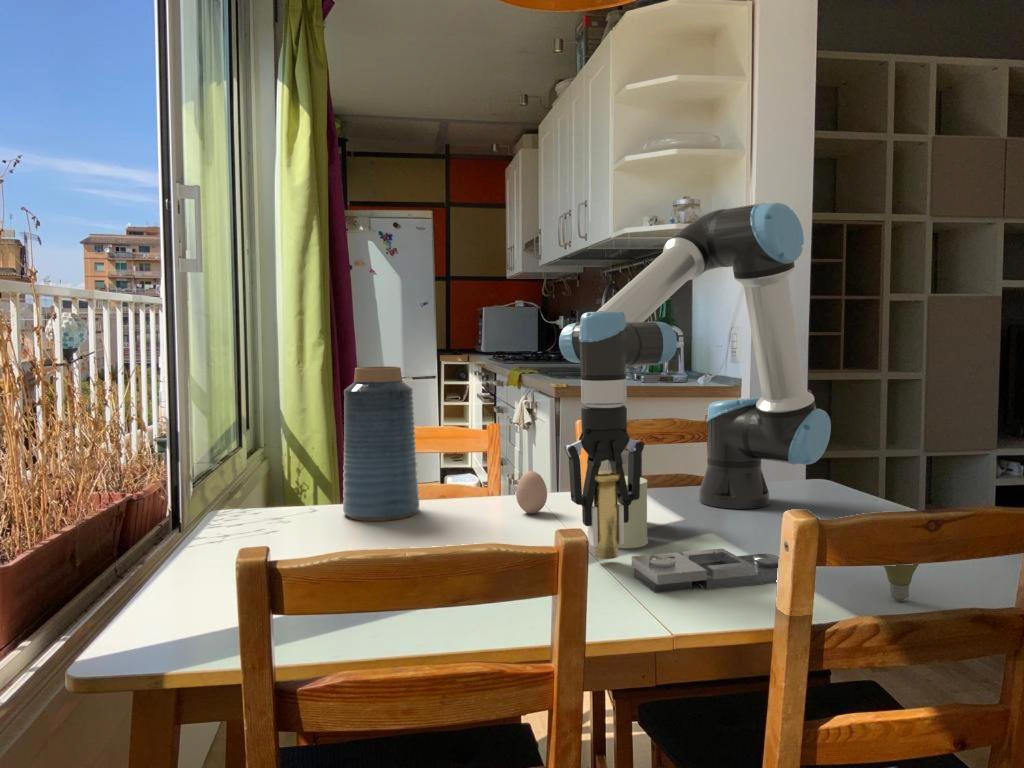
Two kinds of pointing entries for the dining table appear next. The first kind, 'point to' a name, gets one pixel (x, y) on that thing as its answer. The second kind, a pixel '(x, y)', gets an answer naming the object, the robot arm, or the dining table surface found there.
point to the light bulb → (900, 580)
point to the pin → (606, 514)
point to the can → (636, 520)
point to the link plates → (704, 570)
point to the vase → (379, 446)
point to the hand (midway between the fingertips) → (606, 542)
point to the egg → (531, 492)
